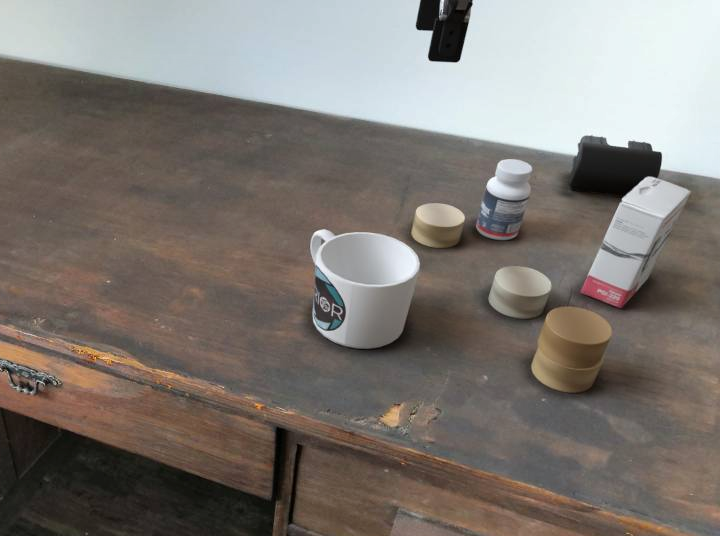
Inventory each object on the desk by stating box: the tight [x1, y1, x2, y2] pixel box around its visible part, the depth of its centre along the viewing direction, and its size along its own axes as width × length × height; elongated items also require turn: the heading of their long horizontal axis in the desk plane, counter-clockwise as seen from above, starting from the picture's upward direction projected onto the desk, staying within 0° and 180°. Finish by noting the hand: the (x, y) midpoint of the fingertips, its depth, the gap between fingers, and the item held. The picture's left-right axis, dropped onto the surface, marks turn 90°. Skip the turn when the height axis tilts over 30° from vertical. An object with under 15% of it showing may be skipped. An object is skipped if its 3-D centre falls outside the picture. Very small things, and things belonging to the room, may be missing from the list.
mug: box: [309, 228, 421, 350], centre depth 83 cm, size 13×10×8 cm
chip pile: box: [530, 306, 613, 394], centre depth 76 cm, size 6×6×6 cm
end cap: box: [567, 134, 663, 198], centre depth 105 cm, size 10×7×7 cm
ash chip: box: [488, 265, 553, 320], centre depth 86 cm, size 6×6×3 cm
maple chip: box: [410, 202, 466, 249], centre depth 97 cm, size 6×6×3 cm
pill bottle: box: [475, 158, 533, 241], centre depth 96 cm, size 5×5×9 cm
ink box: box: [580, 177, 692, 309], centre depth 86 cm, size 9×5×12 cm, turn 137°
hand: (436, 44), depth 82 cm, fingers open, 9 cm apart
